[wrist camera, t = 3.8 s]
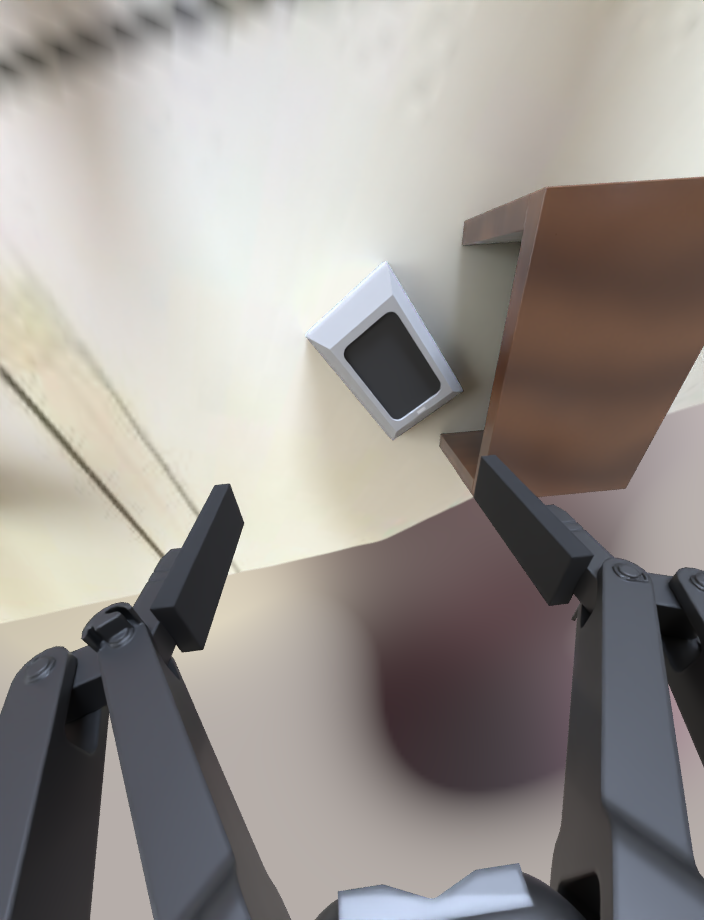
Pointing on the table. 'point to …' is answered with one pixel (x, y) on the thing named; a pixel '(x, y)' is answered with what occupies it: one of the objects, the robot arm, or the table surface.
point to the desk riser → (590, 330)
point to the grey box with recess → (385, 353)
